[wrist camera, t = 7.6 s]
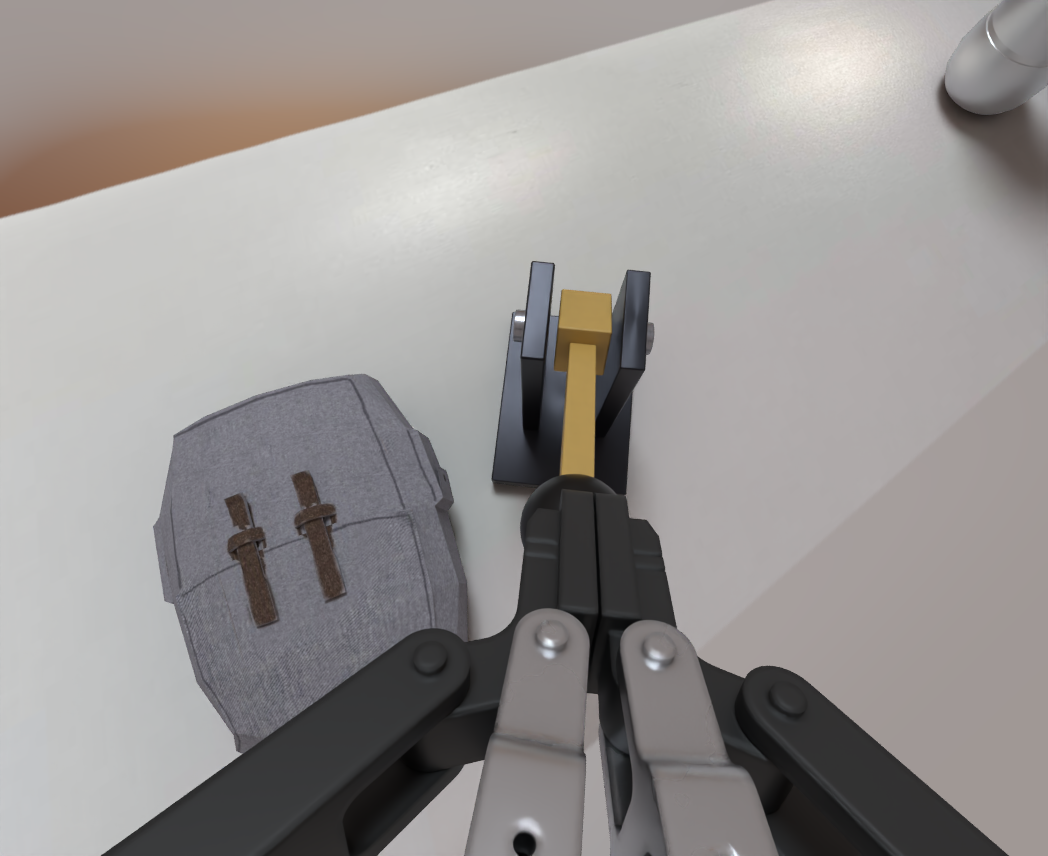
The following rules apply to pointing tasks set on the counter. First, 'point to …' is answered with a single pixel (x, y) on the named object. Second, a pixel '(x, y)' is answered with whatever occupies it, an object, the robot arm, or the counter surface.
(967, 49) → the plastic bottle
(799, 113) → the counter surface
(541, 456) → the lock bracket
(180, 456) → the soft grey pack
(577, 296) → the lever
